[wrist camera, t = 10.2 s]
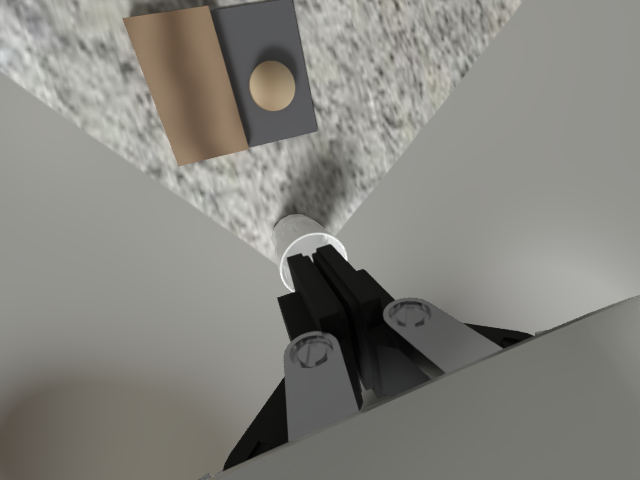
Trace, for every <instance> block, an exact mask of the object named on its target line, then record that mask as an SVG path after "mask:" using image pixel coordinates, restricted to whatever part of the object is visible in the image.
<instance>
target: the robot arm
mask: <svg viewBox="0 0 640 480" xmlns="http://www.w3.org/2000/svg"><path fill="white" fill-rule="evenodd" d="M312 259H313V262H312V260H311V259H310V257H309V256H308V255H306V256H303V255H302V253H299V254H296V255H293V256H290V257H287V262H288V266H289V270H290V274H291V277H292V281H293V285H294V289H295V292H293V293H290V294H287V295H284V296H281V297H278V298H277V299H278V302H279V306H280V309H281V313H282V316H283V319H284V323H285V326H286V329H287V332H288V335H289V339H290V342H291V343H290V344H289V345H288V346H287V348H286V350H285V353H284V371H285V372H284V373H285V377H284V378H283V379H282V381H281V382H280V384H279V385H278V387H277V388H276V390H275V391H274V392H273V394H272V395H271V397H270V398H269V399H268V401H267V402H266V404H265V405H264V406H263V408H262V409H261V411H260V412H259V413H258V415H257V416H256V418H255V419H254V421H253V422H252V424H251V425H250V426H249V428H248V429H247V431H246V432H245V434H244V435H243V436H242V438H241V439H240V440H239V442H238V443H237V445H236V446H235V448H234V449H233V450H232V452H231V453H230V455H229V457H228V459H227V461H226V462H225V465H224V469H223V470H221V471H220V472H219V473H217V474H216V475H214V476H213V477H211V475H210V473H208V474H206V475H204V476H203V477H201V478H200V479H198V480H640V295H639V296H635V297H631V298H628V299H626V300H623V301H620V302H618V303H615V304H612V305H610V306H607V307H604V308H601V309H599V310H596V311H594V312H591V313H588V314H586V315H583V316H581V317H579V318H576V319H574V320H571V321H569V322H567V323H564V324H562V325H559V326H557V327H554V328H552V329H549V330H545V331H539V332H535V336H533V335H530V334H528V333H523V332H519V331H513V330H507V329H500V328H493V327H486V326H480V325H473V324H466V323H462V322H460V321H458V320H457V319H455V318H454V317H452V316H450V315H449V314H447V313H446V312H444V311H443V310H441V309H439V308H438V307H436V306H435V305H433V304H431V303H430V302H428V301H425V300H423V299H418V298H403V299H398V300H396V301H395V300H394V299H393V298H392V297H391V296H390V295H389V294H388V293H387V292H386V291H385V290H384V289H383V288H382V287H381V286H380V285H379V284H378V283H377V282H376V281H375V280H374V279H373V278H372V277H371V276H370V275H369V274H368V273H367V272H366V271H365V270H364V269H362V270H358V271H356V270H355V269H354V268H353V267H352V266H351V265H350V264H349V263H348V262H347V261H346V259H345V258H344V257H343V256H342V255H341V254H340V253H339V252H338V251H337V250H336V249H335V248H334V247H333V246H332V245H331V244H328V245H325V246H322V247H318V248H316V253H312ZM360 381H361V382H362V384H363V386H364V388H365V389H366V390H369V389H371V388H372V390H373V392H374V394H375V395H376V397H377V399H379V398H381V397H383V396H386V395H390V396H393V397H390V398H388V399H386V400H384V401H381V402H379V403H377V404H374V405H372V406H370V407H368V408H365V409H363V410H361V411H360V409H361V407H362V404H363V399H362V395H361V392H362V390H361V384H360Z"/></svg>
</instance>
